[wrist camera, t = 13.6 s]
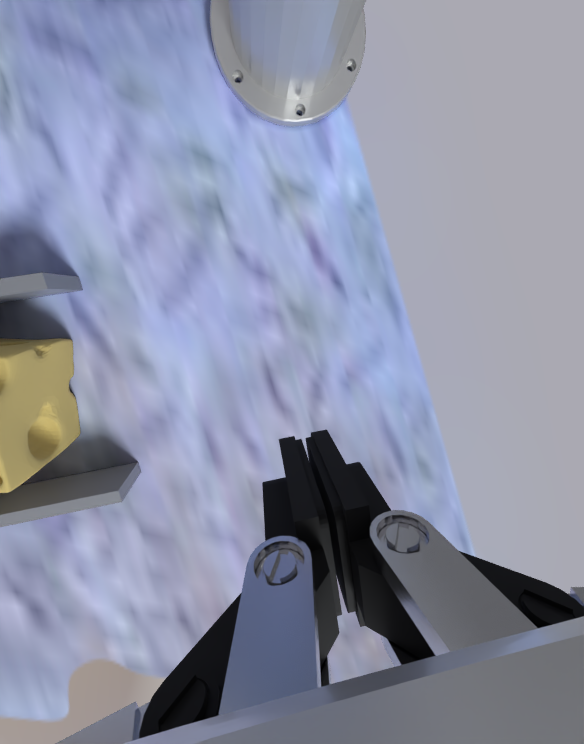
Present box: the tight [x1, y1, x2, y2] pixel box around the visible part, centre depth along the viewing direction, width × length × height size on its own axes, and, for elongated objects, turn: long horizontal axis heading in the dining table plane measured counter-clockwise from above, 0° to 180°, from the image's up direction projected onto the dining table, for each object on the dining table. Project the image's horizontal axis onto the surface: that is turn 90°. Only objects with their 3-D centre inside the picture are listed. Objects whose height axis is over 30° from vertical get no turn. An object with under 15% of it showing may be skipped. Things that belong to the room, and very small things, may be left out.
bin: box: [0, 273, 141, 527], centre depth 27 cm, size 20×15×5 cm
